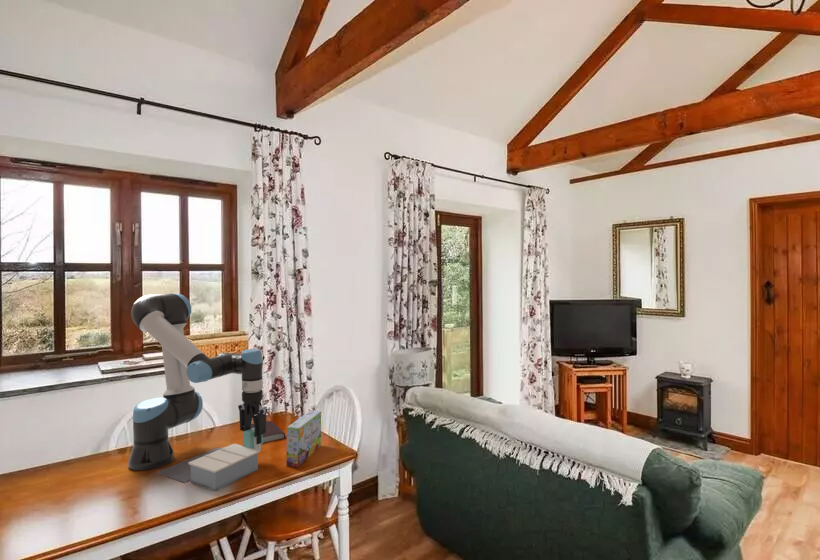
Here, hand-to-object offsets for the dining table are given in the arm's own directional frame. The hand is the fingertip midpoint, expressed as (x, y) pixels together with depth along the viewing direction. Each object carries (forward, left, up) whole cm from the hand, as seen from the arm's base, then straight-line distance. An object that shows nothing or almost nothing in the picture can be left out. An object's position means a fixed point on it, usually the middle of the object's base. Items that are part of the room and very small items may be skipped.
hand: (253, 450), depth 168 cm
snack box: (+13, +14, -5) cm, 20 cm away
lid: (0, -9, +2) cm, 10 cm away
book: (-19, +23, -5) cm, 30 cm away
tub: (0, -13, -5) cm, 13 cm away
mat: (-16, -10, -5) cm, 19 cm away
